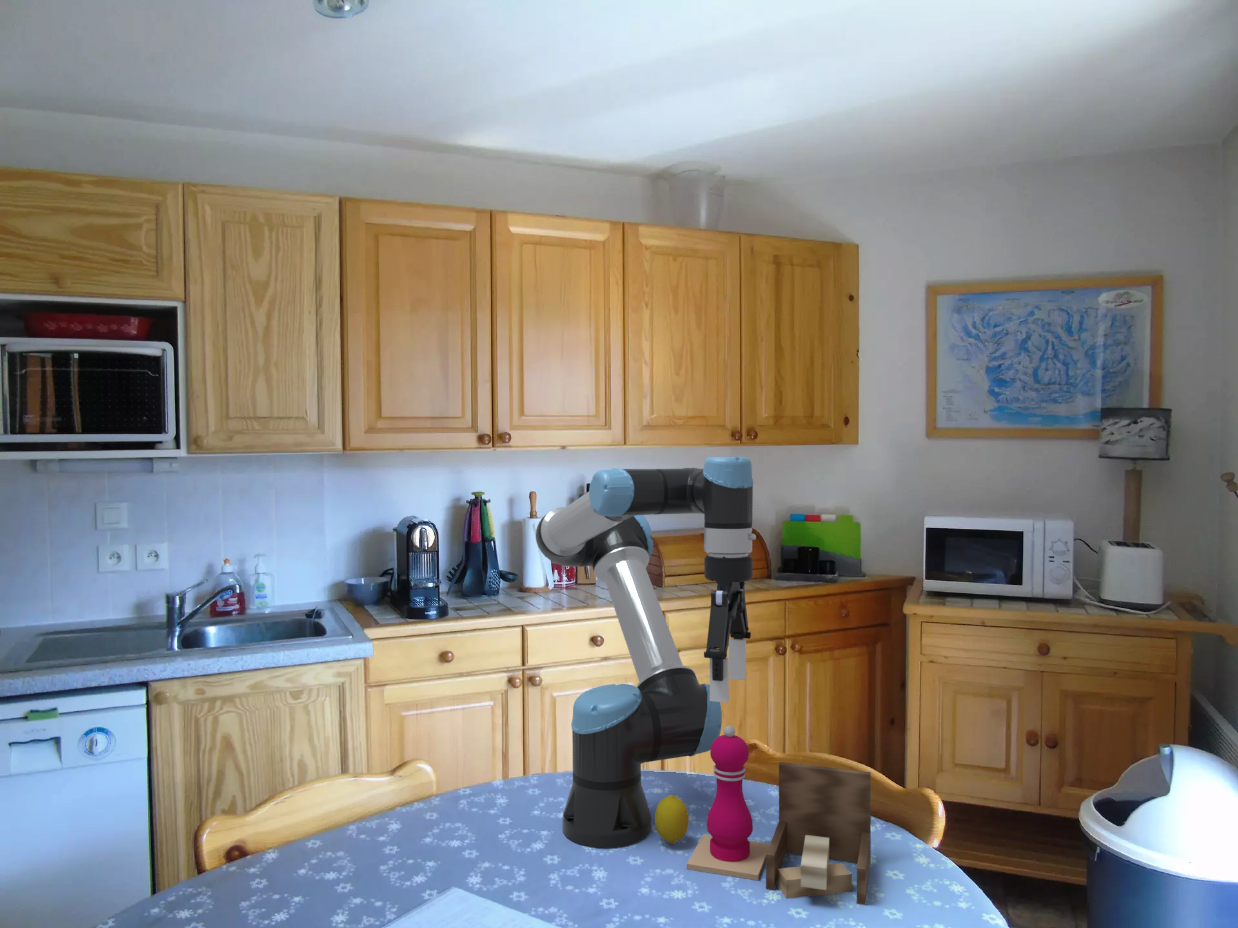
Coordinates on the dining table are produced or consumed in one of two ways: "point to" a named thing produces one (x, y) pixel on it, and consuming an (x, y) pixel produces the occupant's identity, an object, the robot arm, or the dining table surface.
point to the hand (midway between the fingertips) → (728, 689)
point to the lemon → (671, 819)
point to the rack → (823, 818)
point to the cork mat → (741, 869)
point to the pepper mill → (729, 799)
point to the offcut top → (815, 862)
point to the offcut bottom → (836, 883)
